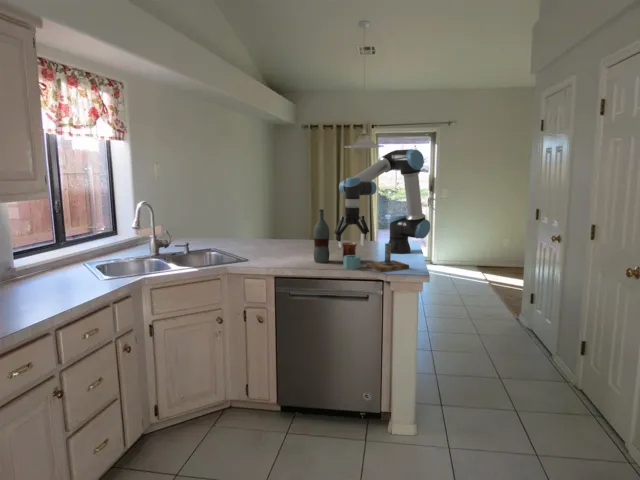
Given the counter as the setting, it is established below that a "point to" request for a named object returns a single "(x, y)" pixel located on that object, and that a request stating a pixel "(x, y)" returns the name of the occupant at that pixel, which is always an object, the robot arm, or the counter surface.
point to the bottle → (321, 240)
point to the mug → (349, 248)
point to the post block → (387, 262)
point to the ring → (351, 261)
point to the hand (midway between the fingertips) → (351, 246)
